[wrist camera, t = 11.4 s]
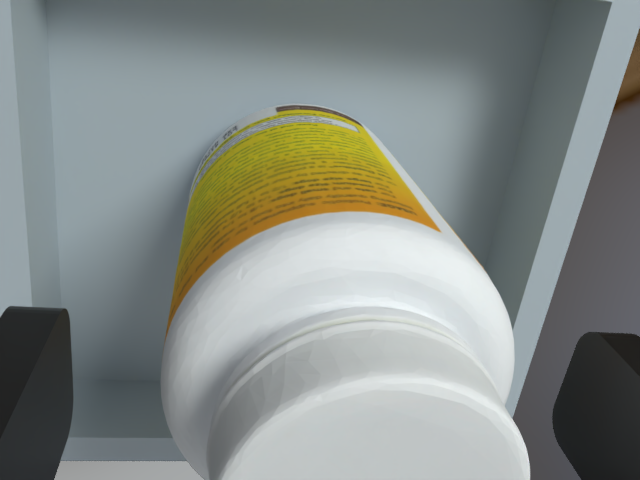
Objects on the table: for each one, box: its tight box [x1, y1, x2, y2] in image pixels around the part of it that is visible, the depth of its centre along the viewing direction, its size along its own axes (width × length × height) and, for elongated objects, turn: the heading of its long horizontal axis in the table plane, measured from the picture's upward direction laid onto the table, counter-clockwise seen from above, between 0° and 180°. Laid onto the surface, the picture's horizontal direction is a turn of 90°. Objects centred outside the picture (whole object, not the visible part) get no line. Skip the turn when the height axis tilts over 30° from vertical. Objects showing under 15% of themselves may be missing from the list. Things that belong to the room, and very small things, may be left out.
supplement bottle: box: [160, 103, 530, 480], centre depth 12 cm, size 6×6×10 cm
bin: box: [0, 0, 640, 461], centre depth 16 cm, size 14×14×3 cm
